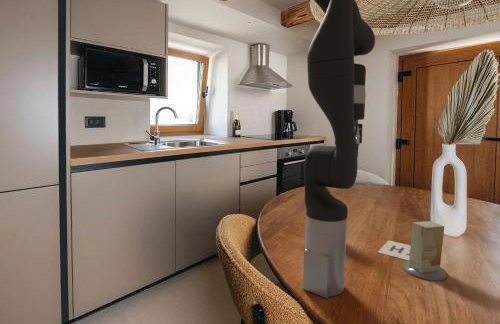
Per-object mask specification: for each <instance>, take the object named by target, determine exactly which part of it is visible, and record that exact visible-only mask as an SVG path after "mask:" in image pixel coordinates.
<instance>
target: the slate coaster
mask: <svg viewBox="0 0 500 324" xmlns="http://www.w3.org/2000/svg"><path fill="white" fill-rule="evenodd" d="M402 268H403V270H404V272H406V273H407V274H408V275H411V276H413V277H414V278H418V279H422V280H425V281H429V282H433V281H434V282H441V281H444V280H446V279H447V278H448V273H447V271H446V270H445V269H444V268H443V267H441V266H440V271H434V272H426V273H420V272H418V271H417V270H415V269H413V268H412V267H410V266H409V261H408V260H405V261H404V262H403V263H402Z"/></svg>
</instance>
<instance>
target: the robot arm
mask: <svg viewBox="0 0 500 324" xmlns="http://www.w3.org/2000/svg"><path fill="white" fill-rule="evenodd" d="M313 1H314V2H315V3H316V5H317V6H318V7H319V8H320V9H321V10H322V11H323V13H324V16H323V19H322V20H321V22H320V25H319V27H318V28H317V30H316V32H315V33H314V36H313V39H312V40H311V42H310V45H309V46H308V51H307V56H306V63H307V64H306V65H307V66H306V67H307V82H308V83H307V84H308V88H309V91H310V93H311V95H312V98H313V99H314V100H315V102H316V104H317V105H318V107H319V108H320V110H321V111H322V113H323V114H324V116H325V117H326V118H327V120H328V122H329V124H330V126H331V128H332V132H333V136H334V137H333V138H334V145H335V146H334V145H332V146H331V145H313V146H311V147H310V148H309V149H308V150H307V152H306V155H305V157H304V158H305V159H304V163H303V164H304V166H303V174H304V175H303V176H304V178H303V179H304V180H303V181H304V183H303V184H304V205H305V232H304V233H305V238H304V240H305V241H304V250H303V266H302V267H303V270H302V272H303V273H302V289H303V290H304V291H308V292H310V293H312V294H315V295H318V296H319V297H322V298H325V299H329V297H333V296H334V297H335V296H338V295H340V294H342V293H343V292H344V289H345V287H344V286H345V275H346V274H345V270H346V249H347V247H346V246H347V230H348V214H349V213H348V212H349V211H348V210H349V209H348V205H347V204H346V203H345V202H343V201H342V200H341V199H338V198H336V197H335V196H334V195H332V194H331V193H329V192H328V191H327V189H326V188H333V189H341V190H348V189H351V188H352V187H353V186H354V185H355V183H356V181H357V176H358V165H359V163H358V157H359V146H360V144H362V143H363V123H359V121H361V120H364V119H365V115H366V114H365V112H366V110H365V109H366V96H367V94H366V78H367V77H366V76H367V75H366V74H367V68H366V66H365V65H363V64H361V63H355V57H357V56H358V57H359V56H365V55H368V54H370V53H371V52H372V51H373V50H374V48H375V44H376V36H375V33H374V31H373V29H372V28H371V26H370V25H369V24H368V23H367V22H366V21H365V20H364V18H362V15H361V12H360V8H359V5H358V3H357V1H356V0H313Z"/></svg>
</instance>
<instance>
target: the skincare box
mask: <svg viewBox="0 0 500 324" xmlns="http://www.w3.org/2000/svg"><path fill="white" fill-rule="evenodd" d="M411 229H412V230H411V240H410V246H411V247H410V257H409V266H410V267H412V268H413V269H415V270H417V271H418V272H420V273H426V272H434V271H440V267H441V260H442V252H443V241H444V233H445V225H443V224H439V223H437V222H434V221H431V220H430V221H429V220H428V221H414V222H412V227H411Z"/></svg>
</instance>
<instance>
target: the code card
mask: <svg viewBox="0 0 500 324" xmlns="http://www.w3.org/2000/svg"><path fill="white" fill-rule="evenodd" d="M410 247H411V244H410V245H409V244H406V243H402V242H397V241H393V240H390V239H389V240H387V241H386V242H385V243H384V245H383V246H381V248H380V249H379V250H378V251H377V253H379V254H381V255H386V256H390V257H394V258H398V259H401V260H405V261H409V257H410Z"/></svg>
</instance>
